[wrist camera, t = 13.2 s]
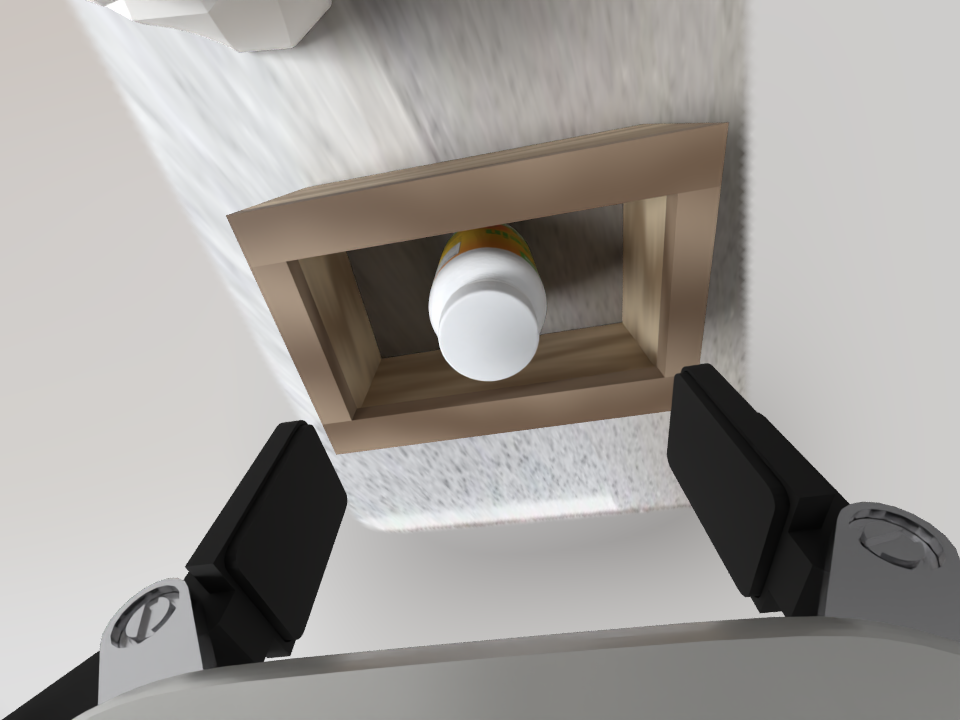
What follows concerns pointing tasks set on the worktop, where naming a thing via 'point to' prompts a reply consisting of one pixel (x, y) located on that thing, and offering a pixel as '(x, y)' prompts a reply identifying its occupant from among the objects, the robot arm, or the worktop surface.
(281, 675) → the robot arm
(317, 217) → the wooden box
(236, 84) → the worktop surface
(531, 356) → the supplement bottle
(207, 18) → the vase
